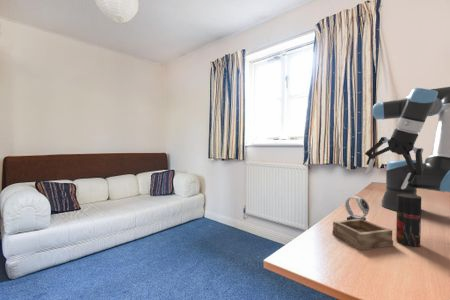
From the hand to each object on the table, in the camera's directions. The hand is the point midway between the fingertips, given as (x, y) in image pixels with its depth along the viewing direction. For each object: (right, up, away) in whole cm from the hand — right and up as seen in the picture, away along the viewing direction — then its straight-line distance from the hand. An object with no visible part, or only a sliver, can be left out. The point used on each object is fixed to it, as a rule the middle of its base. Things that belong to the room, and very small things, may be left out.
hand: (384, 180), depth 93 cm
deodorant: (-8, -17, -21) cm, 29 cm away
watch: (-15, -17, -6) cm, 23 cm away
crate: (-21, -17, -19) cm, 33 cm away
